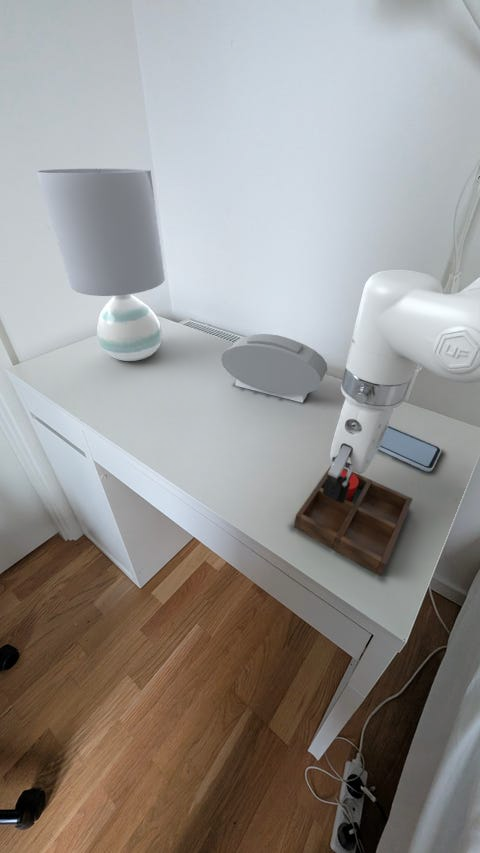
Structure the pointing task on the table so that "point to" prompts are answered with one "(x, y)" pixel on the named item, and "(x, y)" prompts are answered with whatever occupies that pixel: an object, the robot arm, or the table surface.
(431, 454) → the smartphone
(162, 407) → the table surface
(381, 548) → the grid
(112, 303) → the lamp
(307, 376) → the alarm clock
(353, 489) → the red cylinder
